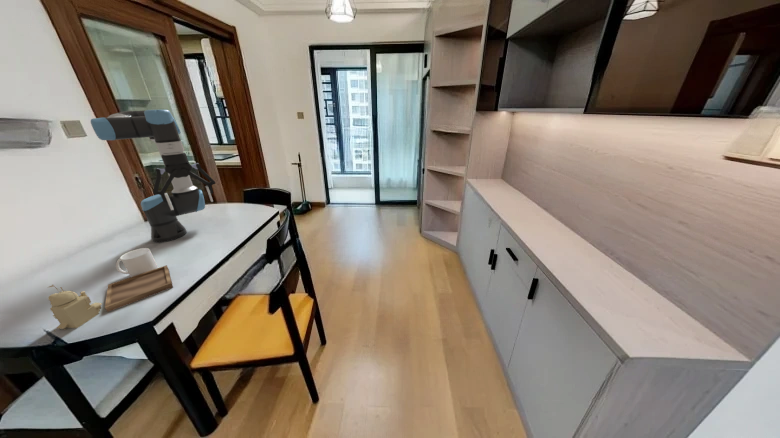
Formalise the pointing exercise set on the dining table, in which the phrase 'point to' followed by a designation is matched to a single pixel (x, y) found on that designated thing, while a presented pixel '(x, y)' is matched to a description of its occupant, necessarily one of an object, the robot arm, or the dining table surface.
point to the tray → (137, 288)
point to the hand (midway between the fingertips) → (192, 205)
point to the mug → (137, 262)
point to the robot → (72, 308)
